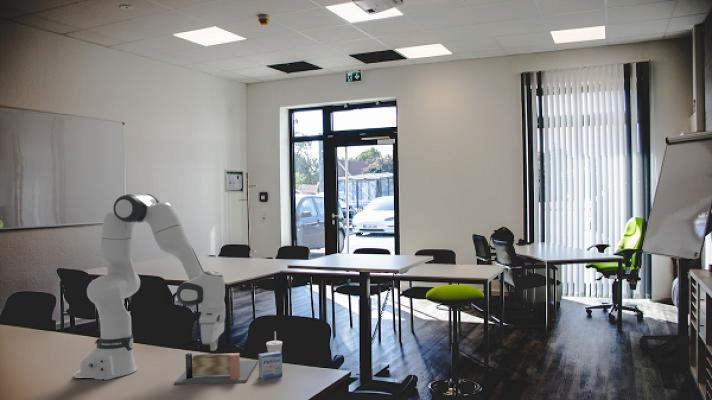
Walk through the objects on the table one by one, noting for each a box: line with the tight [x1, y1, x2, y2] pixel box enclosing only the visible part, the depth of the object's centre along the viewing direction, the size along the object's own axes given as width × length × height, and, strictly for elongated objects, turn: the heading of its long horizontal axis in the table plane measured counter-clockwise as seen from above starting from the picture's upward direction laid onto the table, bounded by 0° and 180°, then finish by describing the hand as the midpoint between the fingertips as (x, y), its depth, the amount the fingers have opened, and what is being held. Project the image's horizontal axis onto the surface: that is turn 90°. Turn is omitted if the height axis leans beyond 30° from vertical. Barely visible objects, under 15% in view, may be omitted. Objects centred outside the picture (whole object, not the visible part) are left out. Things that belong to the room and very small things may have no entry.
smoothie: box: [265, 331, 283, 353], centre depth 214 cm, size 6×6×14 cm
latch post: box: [230, 352, 241, 379], centre depth 199 cm, size 3×2×10 cm
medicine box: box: [257, 351, 283, 380], centre depth 203 cm, size 8×4×9 cm, turn 117°
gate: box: [192, 352, 241, 376], centre depth 202 cm, size 17×2×8 cm, turn 91°
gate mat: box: [173, 360, 259, 385], centre depth 209 cm, size 26×24×1 cm
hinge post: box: [185, 352, 193, 379], centre depth 202 cm, size 2×2×10 cm
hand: (213, 349), depth 209 cm, fingers closed
